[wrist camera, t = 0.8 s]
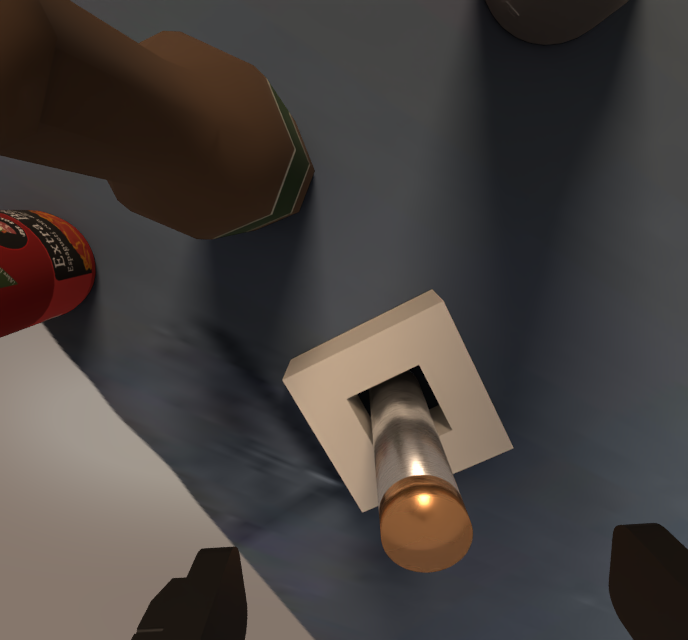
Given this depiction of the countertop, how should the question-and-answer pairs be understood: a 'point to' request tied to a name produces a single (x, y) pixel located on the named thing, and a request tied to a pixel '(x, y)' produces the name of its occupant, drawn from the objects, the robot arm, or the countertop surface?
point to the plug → (415, 481)
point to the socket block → (382, 364)
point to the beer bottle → (149, 120)
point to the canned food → (40, 268)
